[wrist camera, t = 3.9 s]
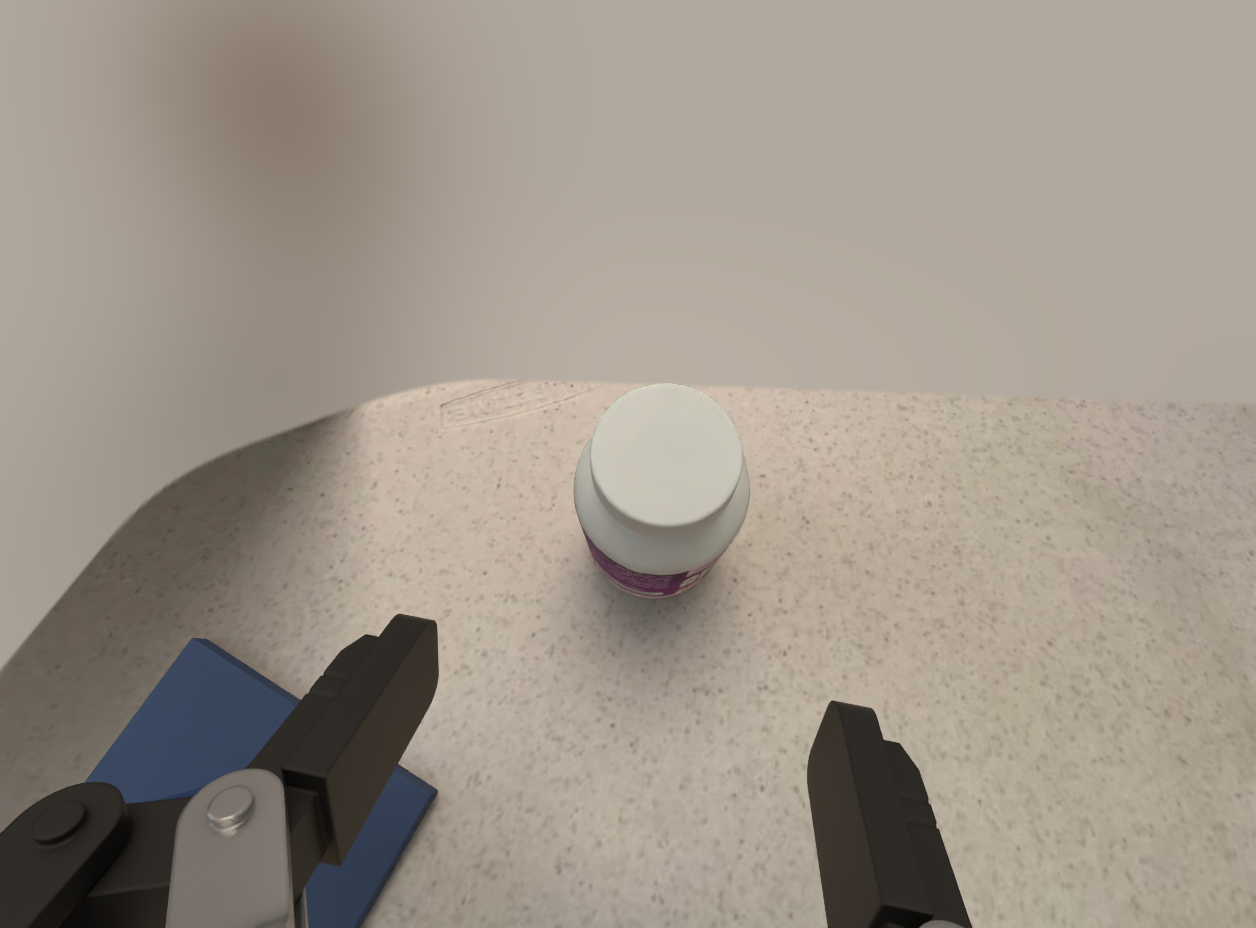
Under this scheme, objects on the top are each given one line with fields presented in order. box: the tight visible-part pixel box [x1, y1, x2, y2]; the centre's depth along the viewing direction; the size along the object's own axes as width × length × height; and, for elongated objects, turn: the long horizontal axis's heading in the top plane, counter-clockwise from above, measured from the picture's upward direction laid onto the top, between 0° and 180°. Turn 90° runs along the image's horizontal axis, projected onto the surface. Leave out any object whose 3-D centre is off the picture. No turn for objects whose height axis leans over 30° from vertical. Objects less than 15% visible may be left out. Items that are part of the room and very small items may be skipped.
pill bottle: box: [574, 383, 750, 599], centre depth 20 cm, size 5×5×10 cm
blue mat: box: [84, 638, 437, 928], centre depth 20 cm, size 11×11×1 cm
